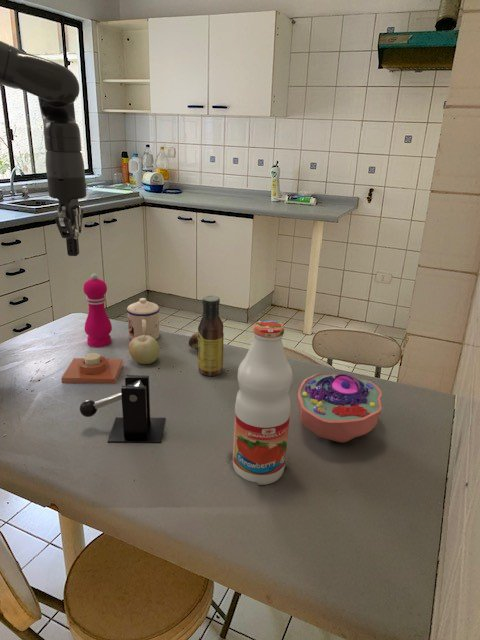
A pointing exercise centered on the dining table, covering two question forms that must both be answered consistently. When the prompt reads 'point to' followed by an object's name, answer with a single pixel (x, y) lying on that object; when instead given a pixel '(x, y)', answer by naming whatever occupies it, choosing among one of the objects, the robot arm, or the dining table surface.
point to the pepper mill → (97, 313)
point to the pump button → (92, 359)
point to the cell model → (339, 405)
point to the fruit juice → (263, 407)
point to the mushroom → (194, 341)
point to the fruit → (144, 349)
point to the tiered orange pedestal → (93, 371)
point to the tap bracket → (136, 415)
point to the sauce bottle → (210, 338)
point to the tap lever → (102, 402)
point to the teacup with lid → (143, 319)
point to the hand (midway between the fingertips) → (73, 255)
